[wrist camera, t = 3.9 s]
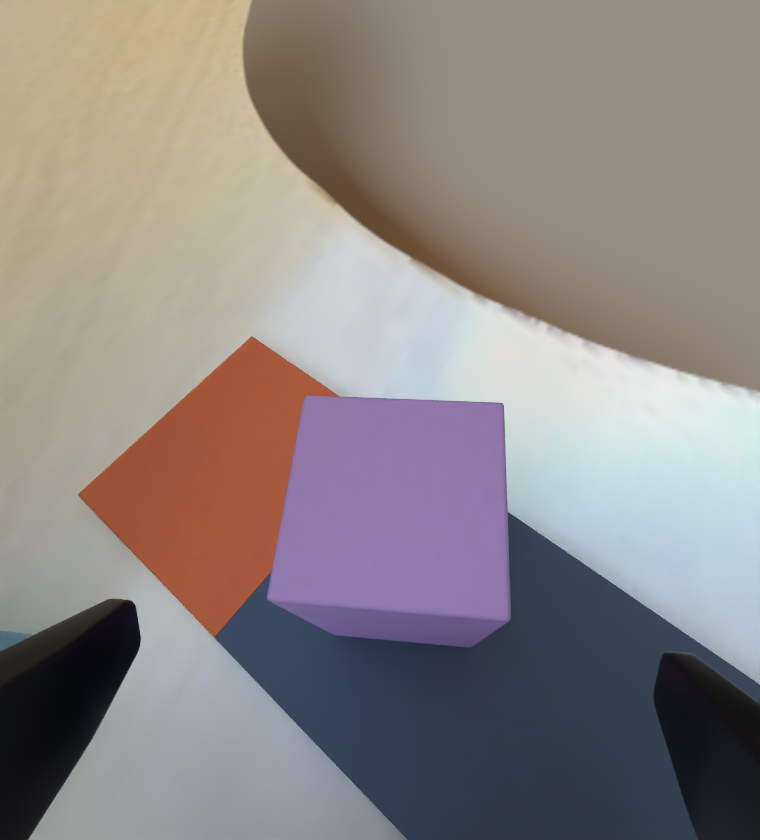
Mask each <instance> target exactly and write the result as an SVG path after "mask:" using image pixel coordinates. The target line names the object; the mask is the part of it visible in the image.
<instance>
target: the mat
mask: <svg viewBox="0 0 760 840" xmlns="http://www.w3.org/2000/svg"><path fill="white" fill-rule="evenodd" d="M305 396H333V397H339V396H338V395H337V394H335V393H334V392H332V391H331V390H329V389H328V388H326V387H325V386H323V385H322V384H321V383H319V382H318V381H316V380H315V379H313V378H312V377H310V376H309V375H307V374H306V373H304V372H303V371H302V370H300V369H299V368H297V367H296V366H294V365H293V364H291V363H290V362H288V361H287V360H286V359H284V358H283V357H281V356H280V355H278V354H277V353H275V352H274V351H272V350H271V349H269V348H268V347H267V346H265V345H264V344H262V343H261V342H259V341H258V340H256V339H255V338H253V337H251V338H249V339H248V340H247V341H246V342H245V343H244V344H243V345H242V346H241V347H240V348H238V349H237V350H236V351H235V352H234V353H233V354H232V355H231V356H230V357H229V358H227V359H226V360H225V361H224V362H223V363H222V364H221V365H220V366H219V367H218V368H216V369H215V370H214V371H213V372H212V373H211V374H210V375H209V376H208V377H207V378H205V379H204V380H203V381H202V382H201V383H200V384H199V385H198V386H197V387H196V388H195V389H193V390H192V391H191V392H190V393H189V394H188V395H187V396H186V397H185V398H184V399H182V400H181V401H180V402H179V403H178V404H177V405H176V406H175V407H174V408H173V409H171V410H170V411H169V412H168V413H167V414H166V415H165V416H164V417H163V418H162V419H160V420H159V421H158V422H157V423H156V424H155V425H154V426H153V427H152V428H151V429H149V430H148V431H147V432H146V433H145V434H144V435H143V436H142V437H141V438H140V439H138V440H137V441H136V442H135V443H134V444H133V445H132V446H131V447H130V448H129V449H127V450H126V451H125V452H124V453H123V454H122V455H121V456H120V457H119V458H118V459H116V460H115V461H114V462H113V463H112V464H111V465H110V466H109V467H108V468H107V469H106V470H104V471H103V472H102V473H101V474H100V475H99V476H98V477H97V478H96V479H95V480H93V481H92V482H91V483H90V484H89V485H88V486H87V487H86V488H85V489H84V490H82V491H81V492H80V493H79V494H78V495H79V496H80V498H81V499H82V500H83V501H84V502H85V503H86V504H87V505H88V506H89V507H90V508H91V509H92V510H93V511H94V512H95V513H96V514H97V515H98V516H99V517H100V518H101V519H102V521H103V522H104V523H105V524H106V525H107V526H108V527H109V528H110V529H111V530H112V531H113V532H114V533H115V534H116V535H117V536H118V537H119V538H120V539H121V540H122V541H123V542H124V543H125V545H126V546H127V547H128V548H129V549H130V550H131V551H132V552H133V553H134V554H135V555H136V556H137V557H138V558H139V559H140V560H141V561H142V562H143V563H144V564H145V565H146V566H147V568H148V569H149V570H150V571H151V572H152V573H153V574H154V575H155V576H156V577H157V578H158V579H159V580H160V581H161V582H162V583H163V584H164V585H165V586H166V587H167V588H168V589H169V591H170V592H171V593H172V594H173V595H174V596H175V597H176V598H177V599H178V600H179V601H180V602H181V603H182V604H183V605H184V606H185V607H186V608H187V609H188V610H189V611H190V612H191V613H192V615H193V616H194V617H195V618H196V619H197V620H198V621H199V622H200V623H201V624H202V625H203V626H204V627H205V628H206V629H207V630H208V631H209V632H210V633H211V634H212V635H213V636H214V637H215V639H216V640H217V641H218V642H219V643H220V644H221V645H222V646H223V647H224V648H225V649H226V650H227V651H228V652H229V653H230V654H231V655H232V656H233V657H234V658H235V659H236V661H237V662H238V663H239V664H240V665H241V666H242V667H243V668H244V669H245V670H246V671H247V672H248V673H249V674H250V675H251V676H252V677H253V678H254V679H255V680H256V681H257V682H258V684H259V685H260V686H261V687H262V688H263V689H264V690H265V691H266V692H267V693H268V694H269V695H270V696H271V697H272V698H273V699H274V700H275V701H276V702H277V703H278V704H279V705H280V706H281V708H282V709H283V710H284V711H285V712H286V713H287V714H288V715H289V716H290V717H291V718H292V719H293V720H294V721H295V722H296V723H297V724H298V725H299V726H300V727H301V728H302V729H303V731H304V732H305V733H306V734H307V735H308V736H309V737H310V738H311V739H312V740H313V741H314V742H315V743H316V744H317V745H318V746H319V747H320V748H321V749H322V750H323V751H324V752H325V754H326V755H327V756H328V757H329V758H330V759H331V760H332V761H333V762H334V763H335V764H336V765H337V766H338V767H339V768H340V769H341V770H342V771H343V772H344V773H345V774H346V775H347V777H348V778H349V779H350V780H351V781H352V782H353V783H354V784H355V785H356V786H357V787H358V788H359V789H360V790H361V791H362V792H363V793H364V794H365V795H366V796H367V797H368V798H369V799H370V801H371V802H372V803H373V804H374V805H375V806H376V807H377V808H378V809H379V810H380V811H381V812H382V813H383V814H384V815H385V816H386V817H387V818H388V819H389V820H390V821H391V822H392V824H393V825H394V826H395V827H396V828H397V829H398V830H399V831H400V832H401V833H402V834H403V835H404V836H405V837H406V838H407V839H408V840H698V838H697V835H696V833H695V830H694V827H693V825H692V822H691V820H690V817H689V814H688V811H687V808H686V805H685V803H684V800H683V797H682V793H681V790H680V787H679V784H678V780H677V777H676V774H675V771H674V767H673V764H672V761H671V758H670V755H669V751H668V748H667V745H666V742H665V738H664V735H663V732H662V729H661V725H660V722H659V719H658V716H657V713H656V709H655V705H654V698H653V692H654V687H655V682H656V678H657V673H658V669H659V664H660V660H661V657H662V655H663V653H665V652H667V651H675V652H686V653H692V654H694V655H696V656H697V657H699V658H700V659H701V660H703V661H704V662H705V663H707V664H708V665H709V666H711V667H712V668H714V669H715V670H716V671H718V672H719V673H720V674H722V675H723V676H724V677H726V678H727V679H728V680H730V681H731V682H732V683H734V684H735V685H736V686H738V687H739V688H741V689H742V690H743V691H745V692H746V693H747V694H749V695H750V696H751V697H753V698H754V699H755V700H757V701H758V702H759V703H760V685H759V684H758V683H756V682H755V681H754V680H752V679H751V678H749V677H748V676H746V675H745V674H743V673H742V672H740V671H739V670H738V669H736V668H735V667H733V666H732V665H730V664H729V663H727V662H726V661H724V660H723V659H721V658H720V657H719V656H717V655H716V654H714V653H713V652H711V651H710V650H708V649H707V648H705V647H704V646H703V645H701V644H700V643H698V642H697V641H695V640H694V639H692V638H691V637H689V636H688V635H686V634H685V633H684V632H682V631H681V630H679V629H678V628H676V627H675V626H673V625H672V624H670V623H669V622H668V621H666V620H665V619H663V618H662V617H660V616H659V615H657V614H656V613H654V612H653V611H651V610H650V609H649V608H647V607H646V606H644V605H643V604H641V603H640V602H638V601H637V600H635V599H634V598H633V597H631V596H630V595H628V594H627V593H625V592H624V591H622V590H621V589H619V588H618V587H616V586H615V585H614V584H612V583H611V582H609V581H608V580H606V579H605V578H603V577H602V576H600V575H599V574H598V573H596V572H595V571H593V570H592V569H590V568H589V567H587V566H586V565H584V564H583V563H582V562H580V561H579V560H577V559H576V558H574V557H573V556H571V555H570V554H568V553H567V552H565V551H564V550H563V549H561V548H560V547H558V546H557V545H555V544H554V543H552V542H551V541H549V540H548V539H547V538H545V537H544V536H542V535H541V534H539V533H538V532H536V531H535V530H533V529H532V528H530V527H529V526H528V525H526V524H525V523H523V522H522V521H520V520H519V519H517V518H516V517H514V516H513V515H512V514H510V513H509V512H507V513H508V541H509V570H510V599H511V619H510V621H509V622H507V623H506V624H505V625H503V626H502V627H500V628H499V629H497V630H496V631H494V632H493V633H491V634H490V635H489V636H487V637H486V638H484V639H483V640H481V641H480V642H478V643H477V644H475V645H474V646H473V647H470V648H469V647H458V646H447V645H436V644H425V643H414V642H403V641H393V640H382V639H371V638H360V637H349V636H338V635H333V634H331V633H329V632H327V631H325V630H323V629H321V628H319V627H317V626H316V625H314V624H312V623H310V622H308V621H306V620H304V619H302V618H300V617H298V616H297V615H295V614H293V613H291V612H289V611H287V610H285V609H283V608H281V607H279V606H278V605H276V604H274V603H272V602H270V601H268V599H267V594H268V589H269V584H270V578H271V573H272V568H273V562H274V557H275V552H276V546H277V541H278V536H279V530H280V525H281V519H282V514H283V509H284V503H285V498H286V493H287V487H288V482H289V477H290V471H291V466H292V461H293V455H294V450H295V445H296V439H297V434H298V429H299V423H300V418H301V413H302V407H303V402H304V398H305Z"/></svg>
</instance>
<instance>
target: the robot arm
mask: <svg viewBox="0 0 760 840" xmlns="http://www.w3.org/2000/svg"><path fill="white" fill-rule="evenodd" d="M140 641H141V636H140V630H139V624H138V618H137V611H136V606H135V604H134V603H133V602H132V601H130V600H122V599H108V600H106V601H104V602H102V603H99V604H97V605H95V606H93V607H91V608H89V609H87V610H85V611H83V612H81V613H79V614H77V615H74V616H72V617H70V618H68V619H66V620H64V621H62V622H60V623H58V624H56V625H54V626H52V627H49V628H47V629H45V630H43V631H41V632H39V633H37V634H35V635H33V636H31V637H29V638H27V639H24V640H22V641H20V642H18V643H16V644H14V645H12V646H10V647H8V648H6V649H4V650H2V651H0V840H28V839H29V837H30V836H31V834H32V833H33V831H34V830H35V828H36V826H37V825H38V823H39V822H40V820H41V819H42V817H43V815H44V814H45V812H46V811H47V809H48V808H49V806H50V805H51V803H52V801H53V800H54V798H55V797H56V795H57V794H58V792H59V790H60V789H61V787H62V786H63V784H64V783H65V781H66V779H67V778H68V776H69V775H70V773H71V772H72V770H73V768H74V767H75V765H76V764H77V762H78V761H79V759H80V758H81V756H82V754H83V753H84V751H85V749H86V748H87V746H88V745H89V743H90V741H91V740H92V738H93V736H94V734H95V733H96V731H97V729H98V727H99V725H100V724H101V722H102V720H103V718H104V716H105V714H106V712H107V710H108V708H109V706H110V704H111V703H112V701H113V699H114V697H115V695H116V693H117V691H118V689H119V687H120V685H121V683H122V681H123V680H124V678H125V676H126V674H127V672H128V670H129V668H130V666H131V664H132V662H133V660H134V659H135V657H136V655H137V653H138V650H139V647H140ZM653 698H654V705H655V709H656V713H657V716H658V719H659V722H660V725H661V729H662V732H663V735H664V738H665V742H666V745H667V748H668V751H669V755H670V758H671V761H672V764H673V767H674V771H675V774H676V777H677V780H678V784H679V787H680V790H681V793H682V797H683V800H684V803H685V805H686V808H687V811H688V814H689V817H690V820H691V822H692V825H693V827H694V830H695V833H696V835H697V838H698V840H760V703H759V702H758V701H757V700H755V699H754V698H753V697H751V696H750V695H749V694H747V693H746V692H745V691H743V690H742V689H741V688H739V687H738V686H736V685H735V684H734V683H732V682H731V681H730V680H728V679H727V678H726V677H724V676H723V675H722V674H720V673H719V672H718V671H716V670H715V669H714V668H712V667H711V666H709V665H708V664H707V663H705V662H704V661H703V660H701V659H700V658H699V657H697V656H696V655H694V654H692V653H686V652H675V651H667V652H665V653H663V655H662V657H661V660H660V664H659V669H658V673H657V678H656V682H655V687H654V692H653Z"/></svg>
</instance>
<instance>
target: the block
mask: <svg viewBox="0 0 760 840" xmlns="http://www.w3.org/2000/svg"><path fill="white" fill-rule="evenodd" d="M267 599H268V601H270V602H272V603H274V604H276V605H278V606H279V607H281V608H283V609H285V610H287V611H289V612H291V613H293V614H295V615H297V616H298V617H300V618H302V619H304V620H306V621H308V622H310V623H312V624H314V625H316V626H317V627H319V628H321V629H323V630H325V631H327V632H329V633H331V634H333V635H338V636H349V637H360V638H371V639H382V640H393V641H403V642H414V643H425V644H436V645H447V646H458V647H469V648H470V647H473V646H474V645H475V644H477V643H478V642H480V641H481V640H483V639H484V638H486V637H487V636H489V635H490V634H491V633H493V632H494V631H496V630H497V629H499V628H500V627H502V626H503V625H505V624H506V623H507V622H509V621H510V619H511V599H510V570H509V541H508V513H507V484H506V455H505V426H504V406H503V404H502V403H491V402H465V401H438V400H412V399H386V398H359V397H333V396H305V398H304V402H303V407H302V413H301V418H300V423H299V429H298V434H297V439H296V445H295V450H294V455H293V461H292V466H291V471H290V477H289V482H288V487H287V493H286V498H285V503H284V509H283V514H282V519H281V525H280V530H279V536H278V541H277V546H276V552H275V557H274V562H273V568H272V573H271V578H270V584H269V589H268V594H267Z"/></svg>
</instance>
